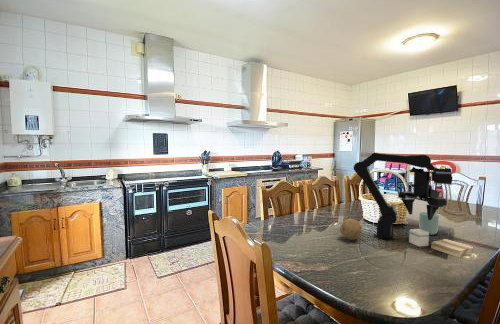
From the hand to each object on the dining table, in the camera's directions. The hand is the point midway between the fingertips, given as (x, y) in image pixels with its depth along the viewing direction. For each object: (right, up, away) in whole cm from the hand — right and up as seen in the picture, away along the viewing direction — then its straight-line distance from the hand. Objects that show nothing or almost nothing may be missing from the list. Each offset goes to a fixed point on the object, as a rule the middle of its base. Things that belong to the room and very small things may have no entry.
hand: (419, 217), depth 108 cm
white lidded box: (0, -12, 0) cm, 12 cm away
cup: (+14, -12, +14) cm, 23 cm away
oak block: (+8, -13, -7) cm, 17 cm away
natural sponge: (-29, -12, +5) cm, 32 cm away
